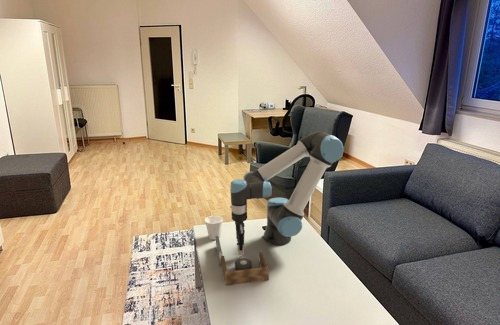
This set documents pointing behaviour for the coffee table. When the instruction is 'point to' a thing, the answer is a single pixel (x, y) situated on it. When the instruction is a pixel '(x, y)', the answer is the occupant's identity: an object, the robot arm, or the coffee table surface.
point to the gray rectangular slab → (219, 250)
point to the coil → (243, 264)
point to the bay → (246, 273)
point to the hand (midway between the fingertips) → (240, 254)
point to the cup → (213, 226)
